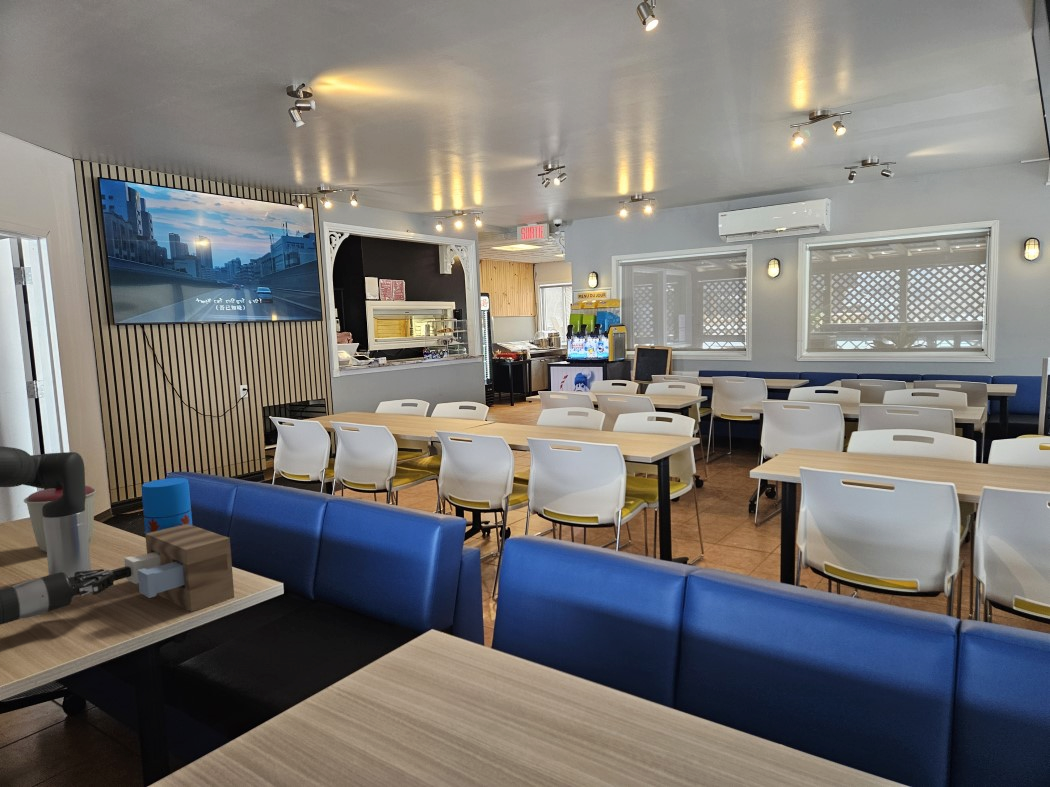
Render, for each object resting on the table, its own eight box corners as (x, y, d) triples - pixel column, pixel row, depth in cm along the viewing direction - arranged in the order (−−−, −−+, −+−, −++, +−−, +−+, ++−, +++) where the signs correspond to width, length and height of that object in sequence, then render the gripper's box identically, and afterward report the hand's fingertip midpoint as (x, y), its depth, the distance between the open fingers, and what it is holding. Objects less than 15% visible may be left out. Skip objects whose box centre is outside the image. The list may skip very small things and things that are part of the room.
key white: (126, 579, 154) (124, 557, 154) (176, 564, 163) (175, 544, 162) (135, 583, 151) (133, 562, 150) (186, 568, 160) (184, 548, 159)
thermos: (176, 584, 164) (167, 487, 162) (139, 582, 166) (130, 487, 164) (205, 569, 175) (197, 477, 172) (170, 567, 177) (162, 477, 175)
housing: (150, 590, 161) (145, 533, 159) (191, 578, 168) (187, 523, 167) (191, 612, 147) (186, 549, 146) (234, 597, 155) (229, 537, 153)
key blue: (139, 592, 145) (137, 570, 145) (192, 576, 154) (190, 555, 154) (149, 598, 142) (147, 574, 142) (202, 581, 151) (200, 559, 150)
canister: (26, 548, 199) (18, 480, 197) (95, 534, 211) (89, 470, 209) (33, 562, 186) (25, 489, 184) (107, 546, 198) (100, 478, 196)
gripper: (49, 585, 134) (139, 560, 148) (29, 572, 143) (117, 550, 156) (52, 620, 135) (142, 592, 148) (33, 605, 143) (120, 580, 157)
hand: (129, 570), depth 152 cm, fingers closed
